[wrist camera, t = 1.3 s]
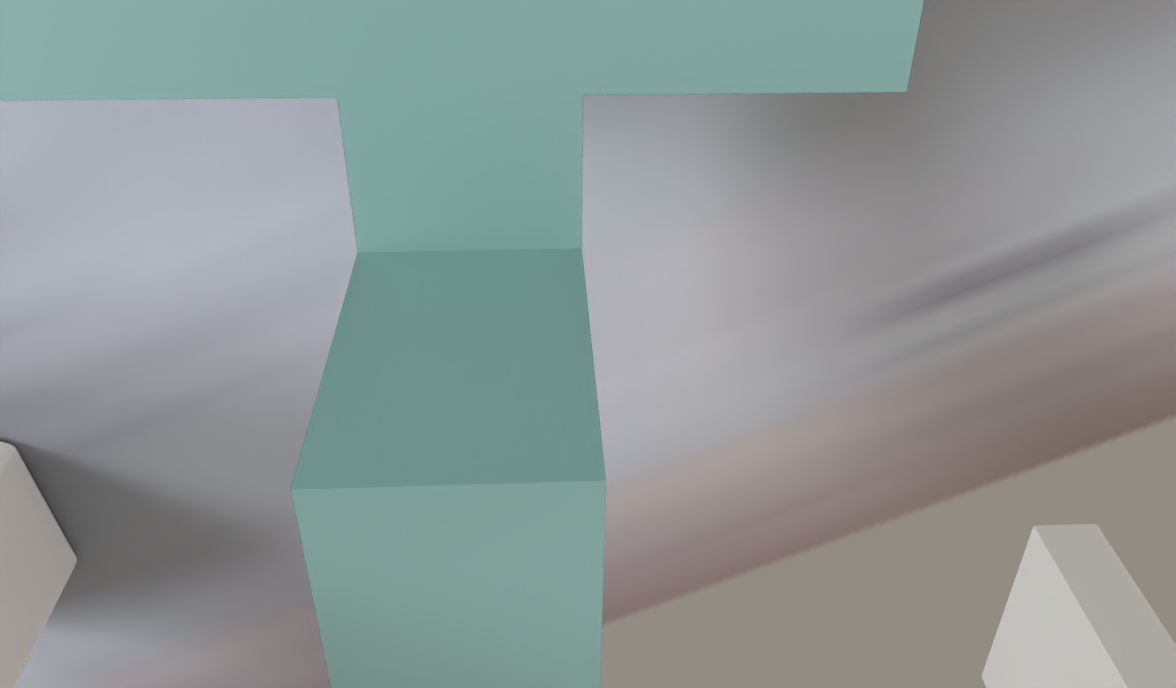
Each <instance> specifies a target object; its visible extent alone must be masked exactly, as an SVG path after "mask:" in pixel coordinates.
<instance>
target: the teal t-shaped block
mask: <svg viewBox="0 0 1176 688" xmlns="http://www.w3.org/2000/svg"><path fill="white" fill-rule="evenodd" d="M923 3H924V0H0V101H15V100H120V99H225V98H330V97H337V100H338V107H339V115H340V122H341V130H342V138H343V145H344V153H345V160H346V168H347V176H348V183H349V191H350V198H351V206H352V213H353V221H354V229H355V236H356V244H357V251H358V253H357V257H356V260H355V264H354V267H353V271H352V274H351V278H350V281H349V285H348V288H347V292H346V295H345V299H344V303H343V306H342V310H341V313H340V317H339V320H338V324H337V327H336V331H335V334H334V338H333V341H332V345H331V348H330V352H329V356H328V359H327V363H326V366H325V370H324V373H323V377H322V380H321V384H320V387H319V391H318V394H317V398H316V402H315V405H314V409H313V412H312V416H311V419H310V423H309V426H308V430H307V433H306V437H305V440H304V444H303V448H302V451H301V455H300V458H299V462H298V465H297V469H296V472H295V476H294V479H293V483H292V486H291V494H292V499H293V504H294V509H295V514H296V519H297V524H298V529H299V534H300V539H301V544H302V548H303V553H304V558H305V563H306V568H307V573H308V578H309V583H310V588H311V593H312V598H313V602H314V607H315V612H316V617H317V622H318V627H319V632H320V637H321V642H322V647H323V652H324V657H325V661H326V666H327V671H328V676H329V681H330V686H331V688H600V685H601V684H600V683H601V646H602V645H601V644H602V607H603V569H604V530H605V491H606V478H605V468H604V459H603V449H602V440H601V430H600V420H599V411H598V401H597V391H596V382H595V372H594V362H593V353H592V343H591V334H590V324H589V314H588V305H587V295H586V285H585V276H584V266H583V257H582V134H583V95H645V94H749V93H854V92H907V87H908V82H909V77H910V72H911V66H912V61H913V56H914V51H915V45H916V40H917V35H918V30H919V24H920V19H921V14H922V8H923Z"/></svg>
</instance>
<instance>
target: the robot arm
mask: <svg viewBox="0 0 1176 688" xmlns="http://www.w3.org/2000/svg"><path fill="white" fill-rule="evenodd" d="M981 677H982V678H983V681H984V683H985V686H986V688H1176V644H1175V643H1174V641H1173V640H1172V638H1171V637H1170V635H1169V634H1168V632H1167V631H1166V629H1165V628H1164V626H1163V625H1162V623H1161V622H1160V620H1159V618H1158V617H1157V615H1156V614H1155V612H1154V611H1153V609H1152V608H1151V606H1150V605H1149V603H1148V602H1147V600H1146V599H1145V597H1144V596H1143V594H1142V593H1141V591H1140V589H1139V588H1138V586H1137V585H1136V583H1135V582H1134V580H1133V579H1132V577H1131V576H1130V574H1129V573H1128V571H1127V570H1126V568H1125V567H1124V565H1123V564H1122V562H1121V560H1120V559H1119V558H1118V556H1117V554H1116V553H1115V551H1114V550H1113V548H1112V547H1111V545H1110V544H1109V542H1108V541H1107V539H1106V538H1105V536H1104V535H1103V533H1102V531H1101V530H1100V528H1099V527H1098V525H1097V524H1085V525H1040V526H1033V529H1032V532H1031V535H1030V538H1029V541H1028V543H1027V546H1026V549H1025V552H1024V555H1023V558H1022V561H1021V564H1020V567H1019V569H1018V572H1017V575H1016V578H1015V581H1014V584H1013V587H1012V590H1011V593H1010V595H1009V598H1008V601H1007V604H1006V607H1005V610H1004V613H1003V616H1002V619H1001V622H1000V624H999V627H998V630H997V633H996V636H995V639H994V642H993V645H992V648H991V651H990V653H989V657H988V659H987V662H986V665H985V668H984V671H983V674H982V676H981Z"/></svg>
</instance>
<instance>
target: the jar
mask: <svg viewBox="0 0 1176 688" xmlns="http://www.w3.org/2000/svg"><path fill="white" fill-rule="evenodd" d="M76 562H77V558H76V555H75V554H74V552H73V550H72V548H71V546H70V545H69V543H68V541H67V539H66V537H65V536H64V534H63V532H62V530H61V528H60V527H59V525H58V523H57V521H56V519H55V518H54V516H53V514H52V512H51V510H50V509H49V507H48V505H47V503H46V501H45V500H44V498H43V496H42V494H41V492H40V491H39V489H38V487H37V485H36V483H35V481H34V480H33V478H32V476H31V474H30V472H29V471H28V469H27V467H26V465H25V463H24V462H23V460H22V458H21V456H20V454H19V452H18V451H17V449H16V448H15V446H13V445H12V444H9V443H6V442H2V441H0V688H14V687H15V685H16V683H17V681H18V679H19V677H20V675H21V673H22V671H23V669H24V667H25V665H26V663H27V661H28V659H29V657H30V655H31V653H32V651H33V649H34V647H35V645H36V643H37V641H38V639H39V637H40V635H41V633H42V631H43V629H44V627H45V625H46V623H47V621H48V619H49V617H50V615H51V613H52V611H53V609H54V607H55V605H56V603H57V601H58V599H59V597H60V595H61V593H62V591H63V589H64V587H65V585H66V583H67V581H68V579H69V577H70V575H71V573H72V571H73V569H74V567H75V565H76Z"/></svg>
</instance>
